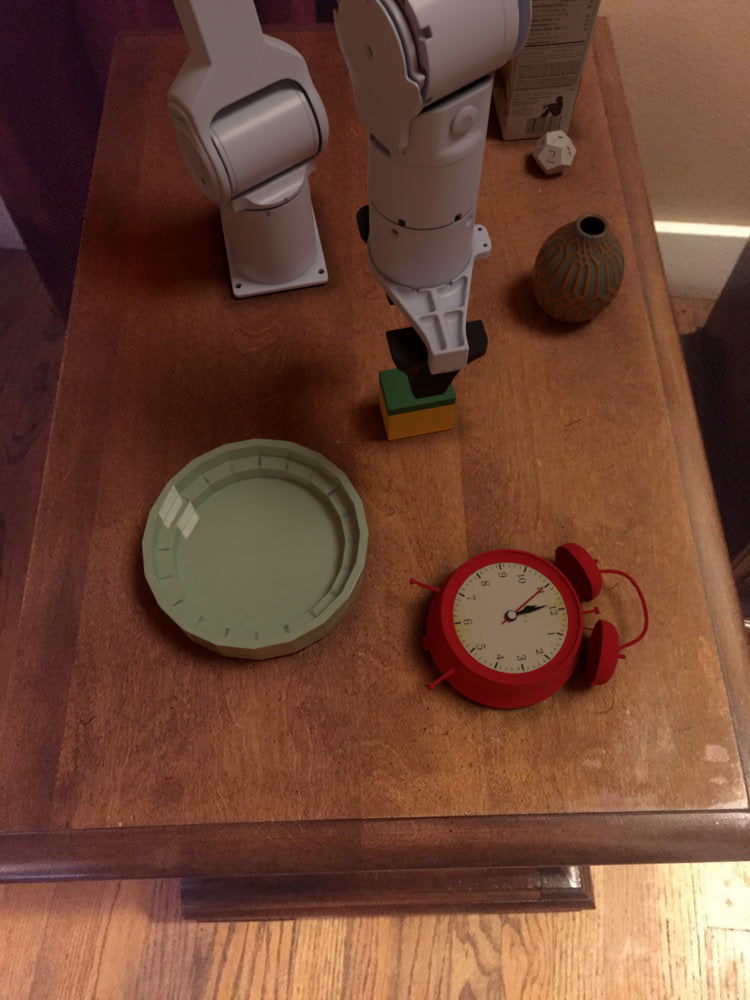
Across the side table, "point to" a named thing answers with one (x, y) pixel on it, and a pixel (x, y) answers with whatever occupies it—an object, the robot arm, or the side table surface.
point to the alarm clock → (520, 625)
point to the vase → (579, 269)
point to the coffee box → (545, 70)
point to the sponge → (412, 407)
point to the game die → (554, 152)
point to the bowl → (257, 548)
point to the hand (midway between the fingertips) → (415, 344)
